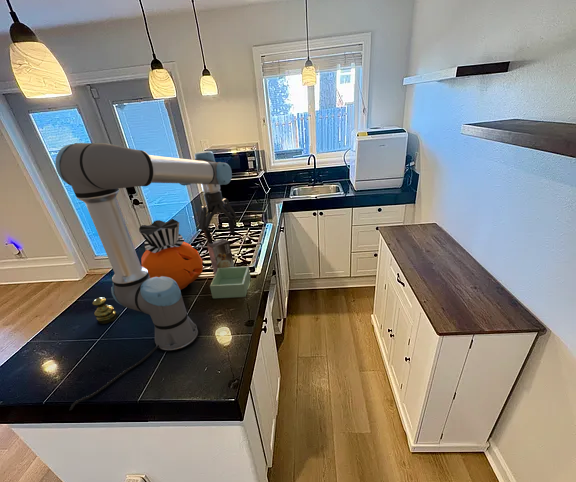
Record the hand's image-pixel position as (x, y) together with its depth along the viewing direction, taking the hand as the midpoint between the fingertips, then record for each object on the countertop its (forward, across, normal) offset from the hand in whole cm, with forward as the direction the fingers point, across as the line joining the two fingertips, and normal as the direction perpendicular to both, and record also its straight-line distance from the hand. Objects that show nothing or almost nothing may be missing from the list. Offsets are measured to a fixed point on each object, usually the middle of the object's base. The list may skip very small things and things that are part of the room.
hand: (221, 238), depth 146 cm
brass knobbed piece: (+18, -55, +14) cm, 60 cm away
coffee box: (+18, -1, +2) cm, 19 cm away
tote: (+18, -9, -13) cm, 24 cm away
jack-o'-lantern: (+18, -21, +12) cm, 31 cm away
